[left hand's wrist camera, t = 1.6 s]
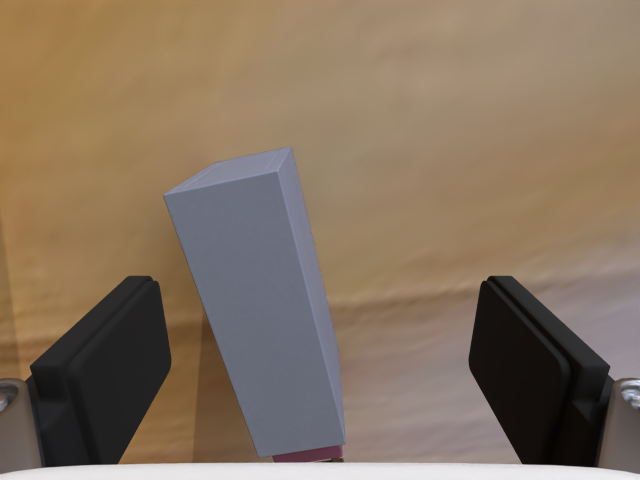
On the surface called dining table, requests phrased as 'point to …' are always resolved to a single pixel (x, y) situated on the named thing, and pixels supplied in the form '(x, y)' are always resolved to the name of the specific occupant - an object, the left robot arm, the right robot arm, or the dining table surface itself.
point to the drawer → (312, 455)
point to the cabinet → (264, 297)
